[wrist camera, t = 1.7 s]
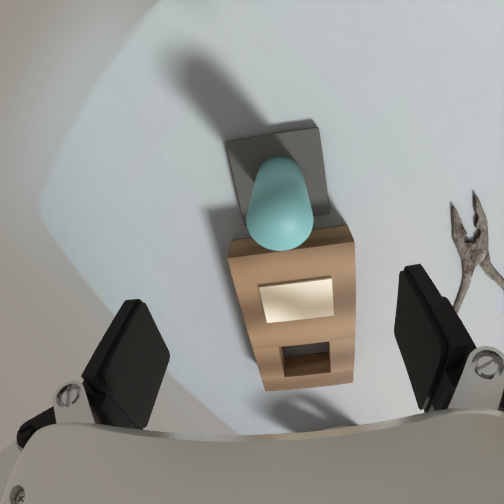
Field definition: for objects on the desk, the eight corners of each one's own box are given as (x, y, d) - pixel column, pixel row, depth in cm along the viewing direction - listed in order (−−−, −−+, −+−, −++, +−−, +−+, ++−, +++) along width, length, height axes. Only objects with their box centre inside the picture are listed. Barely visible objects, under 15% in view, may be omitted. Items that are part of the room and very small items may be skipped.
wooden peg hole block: (232, 240, 27) (226, 259, 25) (347, 225, 26) (355, 243, 23) (266, 371, 36) (265, 392, 33) (349, 362, 34) (353, 383, 32)
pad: (227, 141, 23) (225, 143, 23) (317, 127, 22) (318, 128, 21) (245, 222, 26) (244, 225, 26) (328, 210, 25) (329, 213, 25)
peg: (252, 160, 23) (240, 195, 16) (299, 152, 23) (309, 185, 16) (261, 203, 25) (253, 254, 18) (306, 196, 24) (316, 246, 17)
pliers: (457, 353, 32) (398, 251, 26) (455, 348, 33) (395, 247, 27) (514, 311, 29) (476, 191, 22) (512, 307, 29) (472, 187, 23)
